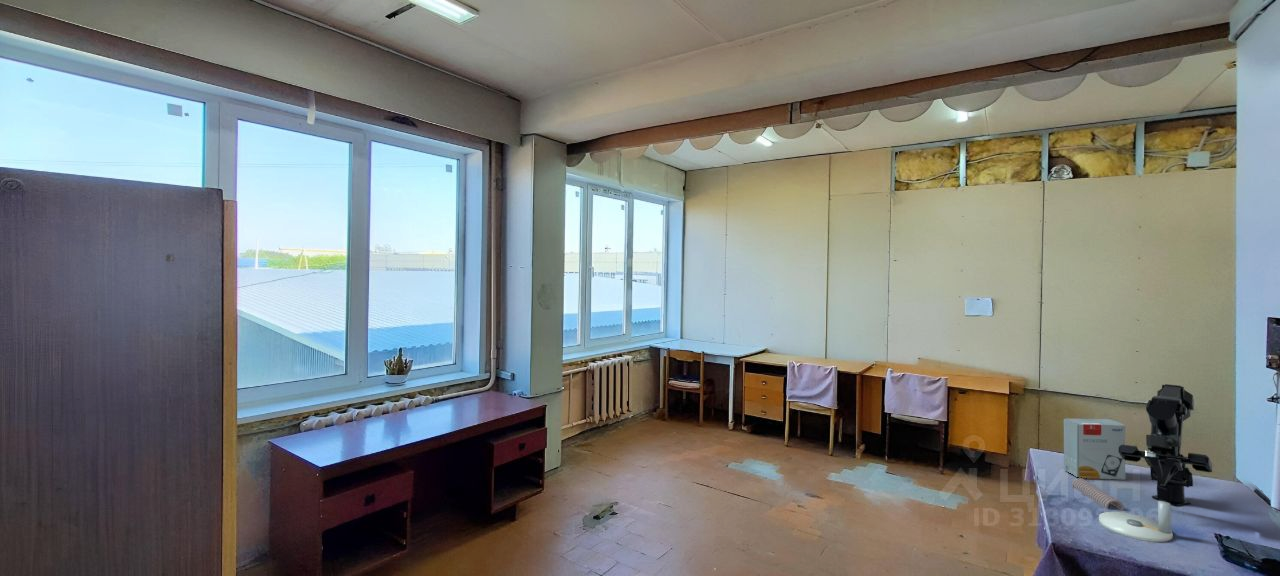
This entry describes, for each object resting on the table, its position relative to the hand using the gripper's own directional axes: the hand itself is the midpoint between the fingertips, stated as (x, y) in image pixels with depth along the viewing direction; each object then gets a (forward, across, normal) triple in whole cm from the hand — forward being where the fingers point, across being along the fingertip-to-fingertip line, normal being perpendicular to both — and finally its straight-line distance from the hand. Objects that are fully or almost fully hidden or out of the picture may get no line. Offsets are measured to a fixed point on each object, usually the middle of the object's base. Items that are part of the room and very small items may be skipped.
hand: (1162, 484), depth 146 cm
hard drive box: (-12, -23, +31) cm, 41 cm away
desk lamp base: (+15, -5, -1) cm, 16 cm away
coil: (+5, -17, +12) cm, 21 cm away
